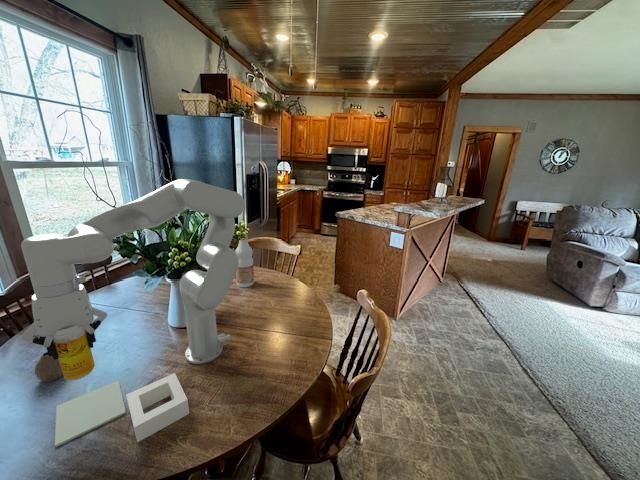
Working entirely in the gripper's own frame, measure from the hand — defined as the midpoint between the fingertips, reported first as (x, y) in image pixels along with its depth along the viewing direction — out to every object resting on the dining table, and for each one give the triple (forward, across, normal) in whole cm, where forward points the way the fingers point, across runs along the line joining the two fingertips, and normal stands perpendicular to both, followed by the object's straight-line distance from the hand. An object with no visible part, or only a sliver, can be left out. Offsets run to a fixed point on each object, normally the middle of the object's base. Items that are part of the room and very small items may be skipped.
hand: (74, 350), depth 68 cm
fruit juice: (+20, -69, -45) cm, 85 cm away
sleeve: (+20, -14, +12) cm, 27 cm away
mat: (+20, 0, 0) cm, 20 cm away
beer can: (+7, 0, 0) cm, 7 cm away
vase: (+20, +8, -22) cm, 31 cm away
